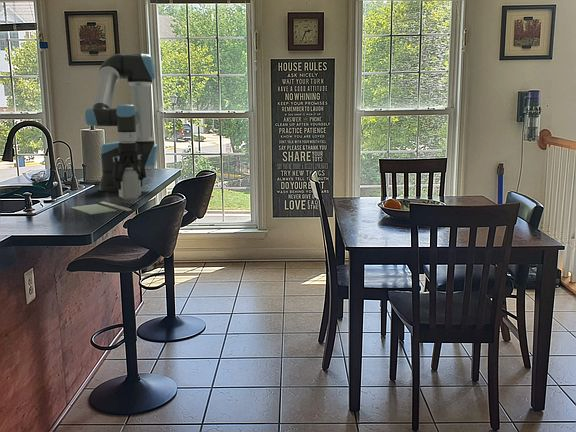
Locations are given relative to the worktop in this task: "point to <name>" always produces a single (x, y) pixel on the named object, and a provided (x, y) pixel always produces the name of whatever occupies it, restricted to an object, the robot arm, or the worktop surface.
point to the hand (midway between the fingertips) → (130, 195)
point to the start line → (116, 206)
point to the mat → (93, 209)
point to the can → (130, 185)
